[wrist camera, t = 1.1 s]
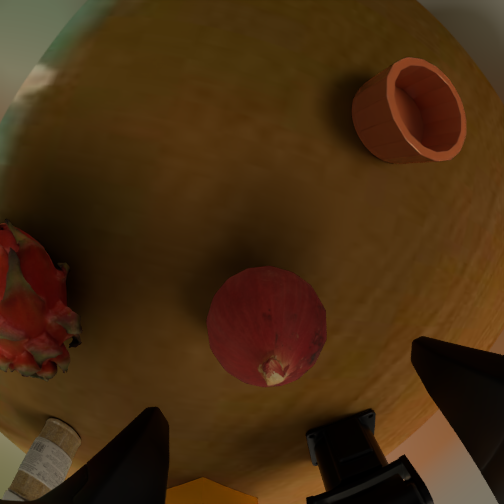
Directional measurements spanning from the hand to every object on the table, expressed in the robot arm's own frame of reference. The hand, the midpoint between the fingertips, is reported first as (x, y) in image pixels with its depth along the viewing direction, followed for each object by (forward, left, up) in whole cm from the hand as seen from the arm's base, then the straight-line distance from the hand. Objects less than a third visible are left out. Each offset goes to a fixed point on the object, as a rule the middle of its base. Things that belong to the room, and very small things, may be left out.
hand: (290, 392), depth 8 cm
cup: (+9, -11, -9) cm, 17 cm away
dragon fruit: (+5, +15, -9) cm, 18 cm away
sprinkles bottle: (-11, +24, -9) cm, 28 cm away
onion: (0, 0, -9) cm, 9 cm away
